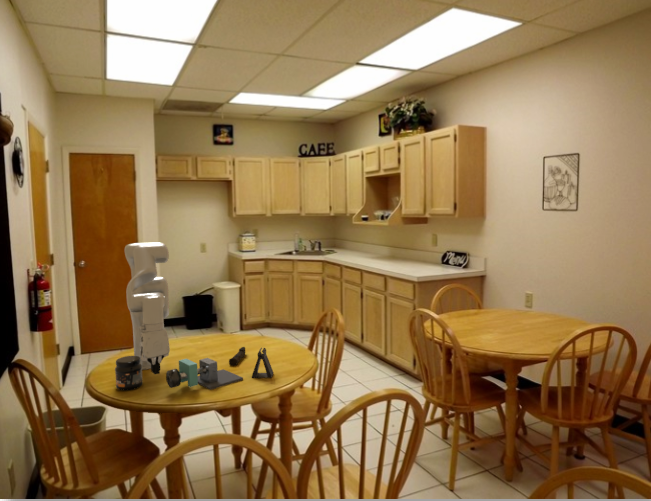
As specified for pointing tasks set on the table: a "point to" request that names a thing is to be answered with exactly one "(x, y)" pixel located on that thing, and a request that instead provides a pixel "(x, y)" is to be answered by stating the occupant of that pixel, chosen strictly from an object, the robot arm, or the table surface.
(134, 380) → the supplement container
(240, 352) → the hand tool
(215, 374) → the bracket
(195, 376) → the spacer
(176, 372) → the shaft
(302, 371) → the table surface
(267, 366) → the phone stand
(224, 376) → the base plate
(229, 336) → the table surface
